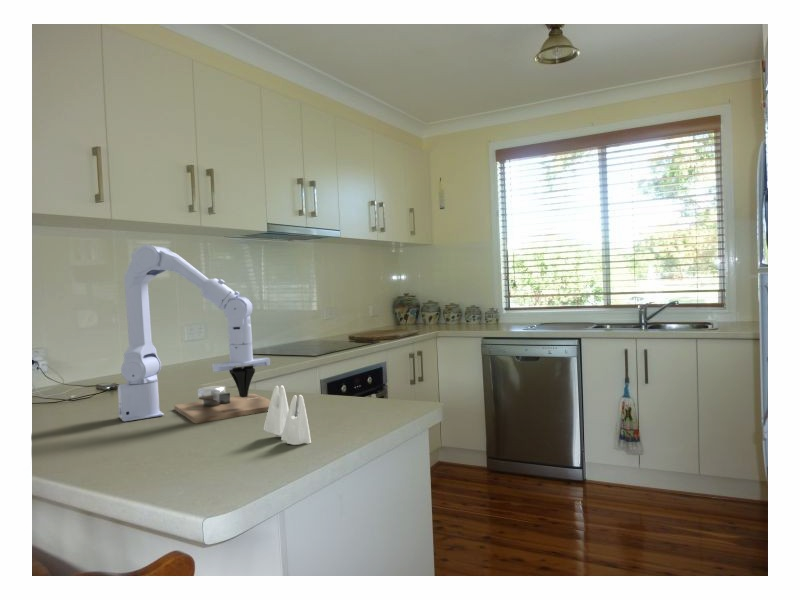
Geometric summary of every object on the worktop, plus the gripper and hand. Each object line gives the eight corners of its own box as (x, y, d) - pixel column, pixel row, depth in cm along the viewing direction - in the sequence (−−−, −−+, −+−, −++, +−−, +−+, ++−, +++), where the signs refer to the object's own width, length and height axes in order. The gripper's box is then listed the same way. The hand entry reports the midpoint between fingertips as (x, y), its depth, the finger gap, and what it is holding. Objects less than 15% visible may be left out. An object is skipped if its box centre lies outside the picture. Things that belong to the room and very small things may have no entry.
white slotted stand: (262, 437, 118) (259, 385, 118) (279, 433, 121) (277, 382, 121) (295, 447, 110) (292, 391, 109) (312, 442, 113) (310, 387, 112)
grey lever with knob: (195, 397, 151) (194, 388, 151) (221, 393, 155) (221, 384, 155) (212, 406, 138) (211, 396, 138) (240, 401, 142) (239, 392, 141)
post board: (195, 423, 134) (194, 411, 134) (174, 409, 153) (173, 398, 152) (282, 409, 146) (281, 397, 146) (253, 397, 165) (253, 387, 165)
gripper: (217, 347, 137) (220, 403, 138) (273, 341, 146) (276, 394, 146) (208, 346, 143) (211, 399, 143) (263, 340, 151) (265, 390, 152)
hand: (243, 396), depth 145 cm, fingers closed
